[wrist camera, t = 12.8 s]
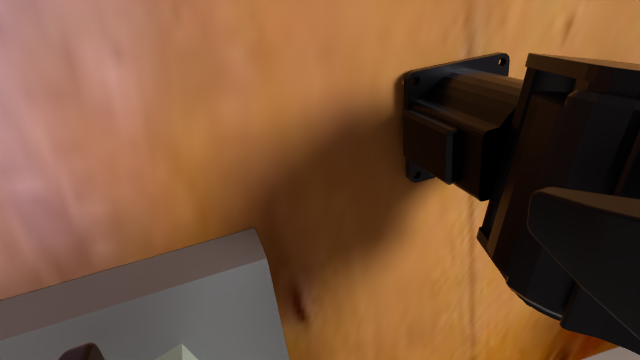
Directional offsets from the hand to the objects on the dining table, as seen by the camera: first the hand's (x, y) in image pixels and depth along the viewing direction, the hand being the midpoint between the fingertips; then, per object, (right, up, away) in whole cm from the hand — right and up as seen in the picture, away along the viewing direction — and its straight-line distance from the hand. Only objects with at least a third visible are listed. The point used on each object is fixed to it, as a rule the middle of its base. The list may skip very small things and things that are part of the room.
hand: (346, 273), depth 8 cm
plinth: (-9, -8, +15) cm, 20 cm away
